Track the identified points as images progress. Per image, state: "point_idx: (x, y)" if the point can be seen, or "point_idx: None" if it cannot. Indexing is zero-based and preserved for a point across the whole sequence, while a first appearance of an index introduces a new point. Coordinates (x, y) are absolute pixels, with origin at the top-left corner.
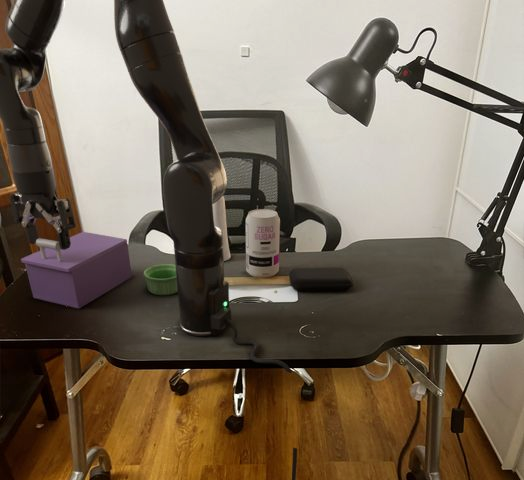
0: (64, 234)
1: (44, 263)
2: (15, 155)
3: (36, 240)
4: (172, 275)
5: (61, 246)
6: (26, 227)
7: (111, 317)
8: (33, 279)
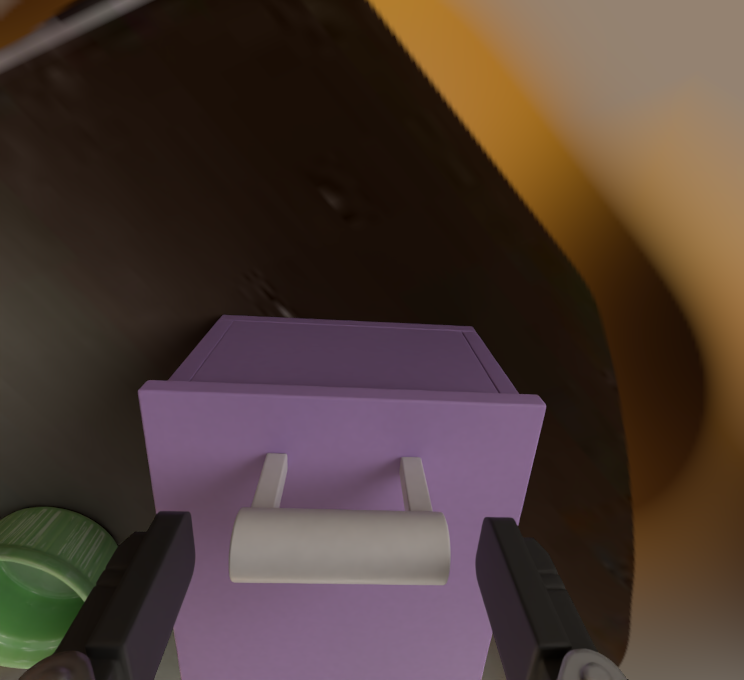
0: (62, 649)
1: (347, 404)
2: None
3: (445, 548)
4: (53, 619)
5: (155, 527)
6: (559, 648)
7: (42, 300)
8: (465, 362)
